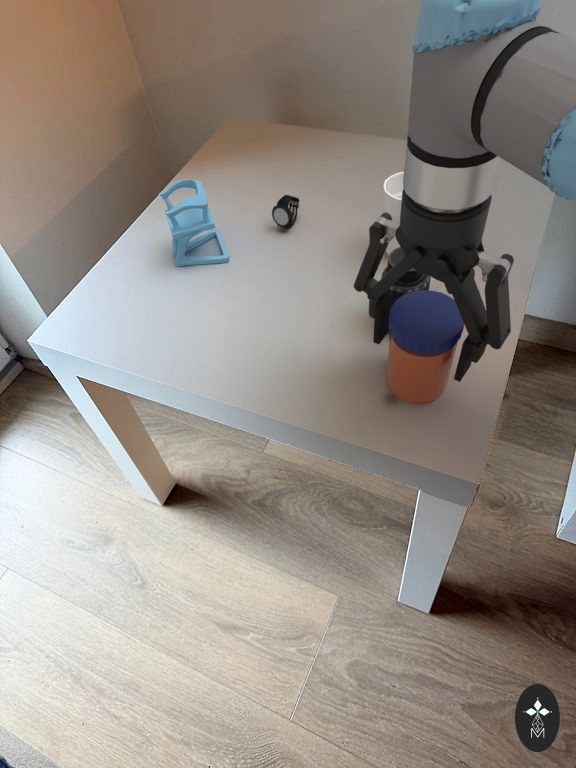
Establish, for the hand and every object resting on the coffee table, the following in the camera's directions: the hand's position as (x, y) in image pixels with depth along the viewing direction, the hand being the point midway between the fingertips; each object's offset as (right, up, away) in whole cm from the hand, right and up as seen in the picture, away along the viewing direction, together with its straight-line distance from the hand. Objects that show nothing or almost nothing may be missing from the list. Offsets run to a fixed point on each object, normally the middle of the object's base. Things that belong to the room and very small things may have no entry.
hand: (420, 353), depth 64 cm
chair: (-30, +17, +23) cm, 41 cm away
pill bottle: (0, +5, +10) cm, 11 cm away
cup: (+2, +17, +19) cm, 25 cm away
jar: (0, -3, +4) cm, 5 cm away
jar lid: (-1, +4, -5) cm, 6 cm away
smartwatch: (-15, +22, +25) cm, 37 cm away
